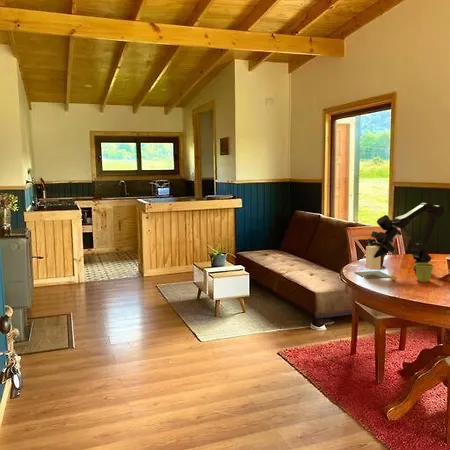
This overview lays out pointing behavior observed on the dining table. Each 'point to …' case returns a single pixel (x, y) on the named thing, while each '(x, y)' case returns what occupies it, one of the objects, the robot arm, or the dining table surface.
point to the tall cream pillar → (372, 257)
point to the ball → (393, 277)
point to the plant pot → (423, 271)
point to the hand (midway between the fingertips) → (371, 256)
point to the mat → (373, 274)
